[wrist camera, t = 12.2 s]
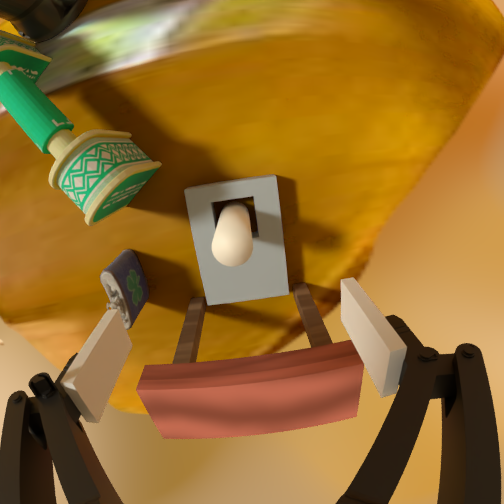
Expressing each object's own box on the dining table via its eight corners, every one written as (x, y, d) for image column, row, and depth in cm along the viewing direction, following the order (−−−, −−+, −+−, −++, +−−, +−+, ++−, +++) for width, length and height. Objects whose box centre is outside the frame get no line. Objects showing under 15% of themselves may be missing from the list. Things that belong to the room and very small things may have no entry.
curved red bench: (184, 269, 44) (136, 389, 21) (302, 252, 44) (364, 362, 20) (193, 309, 47) (163, 438, 23) (305, 293, 47) (356, 416, 23)
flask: (120, 249, 43) (91, 278, 33) (136, 246, 43) (110, 275, 33) (137, 302, 46) (116, 339, 36) (153, 299, 46) (134, 338, 36)
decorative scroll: (162, 164, 39) (123, 173, 25) (126, 206, 41) (77, 235, 27) (35, 42, 30) (-18, 23, 16) (8, 81, 31) (-47, 74, 17)
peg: (218, 203, 41) (208, 230, 28) (246, 199, 41) (249, 224, 28) (223, 230, 43) (215, 269, 29) (250, 226, 43) (255, 263, 29)
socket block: (187, 187, 40) (184, 190, 37) (273, 174, 40) (276, 176, 37) (209, 295, 46) (207, 305, 43) (286, 285, 46) (289, 294, 43)
